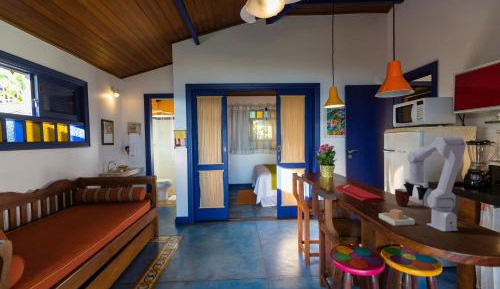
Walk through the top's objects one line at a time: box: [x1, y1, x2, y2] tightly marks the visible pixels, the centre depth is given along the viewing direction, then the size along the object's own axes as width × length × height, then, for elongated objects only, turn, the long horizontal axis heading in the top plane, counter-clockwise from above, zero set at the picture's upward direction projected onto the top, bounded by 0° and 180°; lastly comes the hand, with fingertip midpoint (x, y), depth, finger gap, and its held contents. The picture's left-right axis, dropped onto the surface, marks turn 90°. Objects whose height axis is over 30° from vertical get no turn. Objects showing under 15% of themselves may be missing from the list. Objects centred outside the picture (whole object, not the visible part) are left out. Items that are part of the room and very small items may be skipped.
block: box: [389, 208, 404, 220], centre depth 130 cm, size 4×4×5 cm
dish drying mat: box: [334, 184, 385, 202], centre depth 190 cm, size 16×41×4 cm, turn 7°
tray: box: [378, 212, 416, 227], centre depth 130 cm, size 12×11×2 cm
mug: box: [394, 188, 411, 208], centre depth 156 cm, size 11×8×10 cm
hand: (415, 197), depth 140 cm, fingers open, 7 cm apart
